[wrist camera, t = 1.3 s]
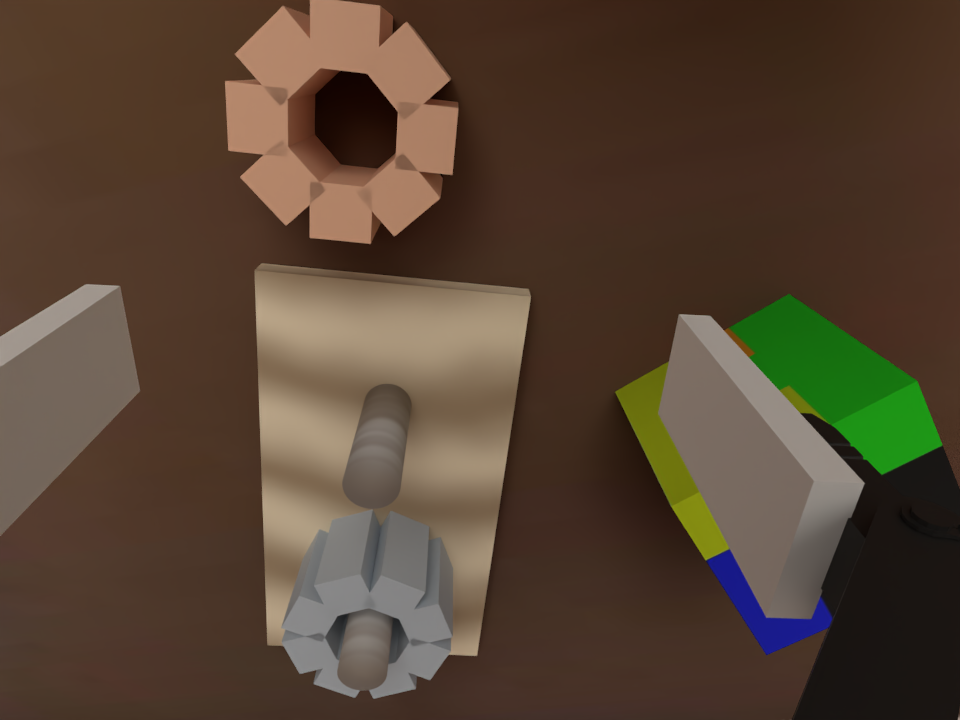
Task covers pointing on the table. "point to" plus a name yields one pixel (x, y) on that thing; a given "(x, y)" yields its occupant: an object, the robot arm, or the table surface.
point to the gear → (372, 598)
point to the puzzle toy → (810, 389)
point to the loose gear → (291, 119)
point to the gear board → (327, 408)
